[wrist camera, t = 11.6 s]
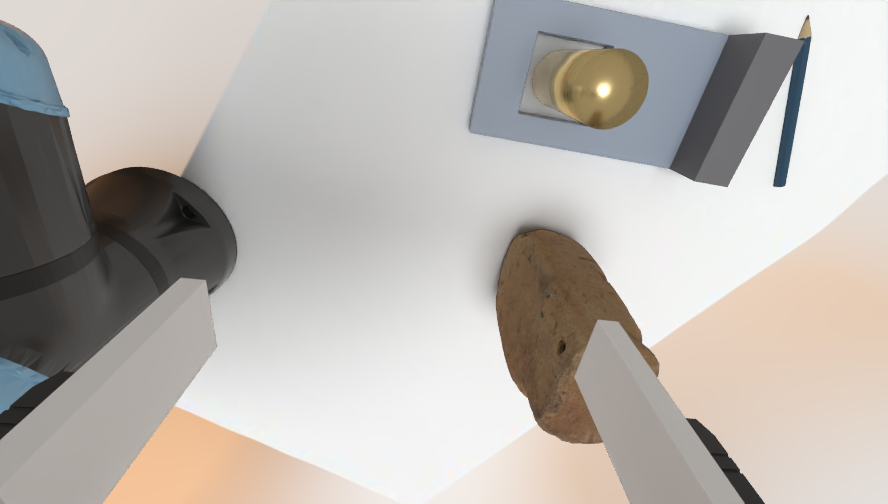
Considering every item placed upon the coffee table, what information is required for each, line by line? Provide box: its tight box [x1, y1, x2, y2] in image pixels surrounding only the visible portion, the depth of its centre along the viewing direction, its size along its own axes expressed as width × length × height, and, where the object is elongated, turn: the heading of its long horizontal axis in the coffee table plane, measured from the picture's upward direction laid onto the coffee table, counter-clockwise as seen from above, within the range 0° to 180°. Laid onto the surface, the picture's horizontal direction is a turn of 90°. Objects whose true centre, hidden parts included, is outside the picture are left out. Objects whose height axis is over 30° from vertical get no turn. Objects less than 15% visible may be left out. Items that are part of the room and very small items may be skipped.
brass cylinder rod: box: [533, 48, 649, 130], centre depth 29 cm, size 5×5×12 cm
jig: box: [469, 0, 805, 187], centre depth 32 cm, size 22×11×6 cm, turn 80°
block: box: [496, 230, 659, 444], centre depth 34 cm, size 11×8×20 cm
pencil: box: [774, 15, 811, 187], centre depth 35 cm, size 1×1×15 cm
